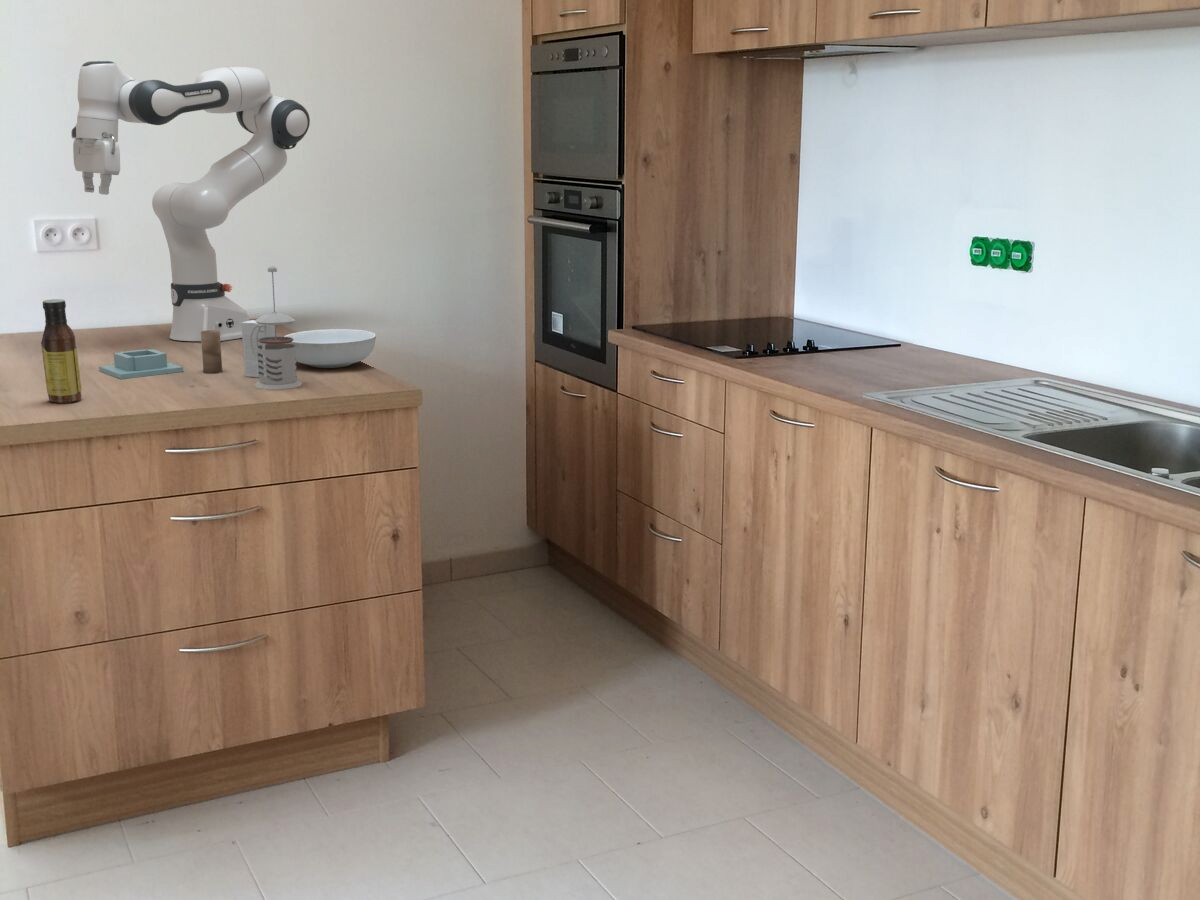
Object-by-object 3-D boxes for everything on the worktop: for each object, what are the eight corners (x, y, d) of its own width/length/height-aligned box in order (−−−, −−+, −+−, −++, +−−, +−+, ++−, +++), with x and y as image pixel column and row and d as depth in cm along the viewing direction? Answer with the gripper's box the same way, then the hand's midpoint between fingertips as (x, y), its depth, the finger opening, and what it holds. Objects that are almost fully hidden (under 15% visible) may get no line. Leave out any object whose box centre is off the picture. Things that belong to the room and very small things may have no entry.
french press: (277, 391, 253) (271, 269, 247) (238, 384, 259) (231, 265, 252) (311, 383, 261) (306, 265, 255) (273, 377, 267) (267, 262, 261)
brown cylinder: (217, 369, 275) (214, 329, 273) (225, 372, 272) (223, 331, 270) (200, 371, 272) (197, 331, 270) (208, 374, 269) (205, 333, 267)
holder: (160, 363, 280) (159, 346, 279) (183, 371, 272) (182, 353, 271) (99, 370, 271) (97, 353, 270) (120, 379, 262) (119, 360, 261)
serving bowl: (333, 353, 297) (332, 325, 295) (395, 363, 285) (394, 334, 283) (264, 365, 280) (263, 335, 279) (328, 376, 269) (326, 345, 267)
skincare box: (278, 375, 269) (276, 321, 266) (267, 378, 265) (264, 323, 262) (255, 373, 271) (252, 319, 268) (243, 376, 267) (240, 322, 264)
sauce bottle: (63, 396, 244) (53, 297, 240) (89, 398, 243) (80, 298, 238) (39, 403, 238) (29, 301, 233) (66, 405, 237) (56, 302, 232)
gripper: (128, 135, 278) (126, 196, 280) (95, 133, 293) (94, 192, 295) (100, 131, 274) (98, 194, 276) (68, 130, 289) (67, 190, 291)
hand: (96, 193), depth 286 cm, fingers open, 8 cm apart
